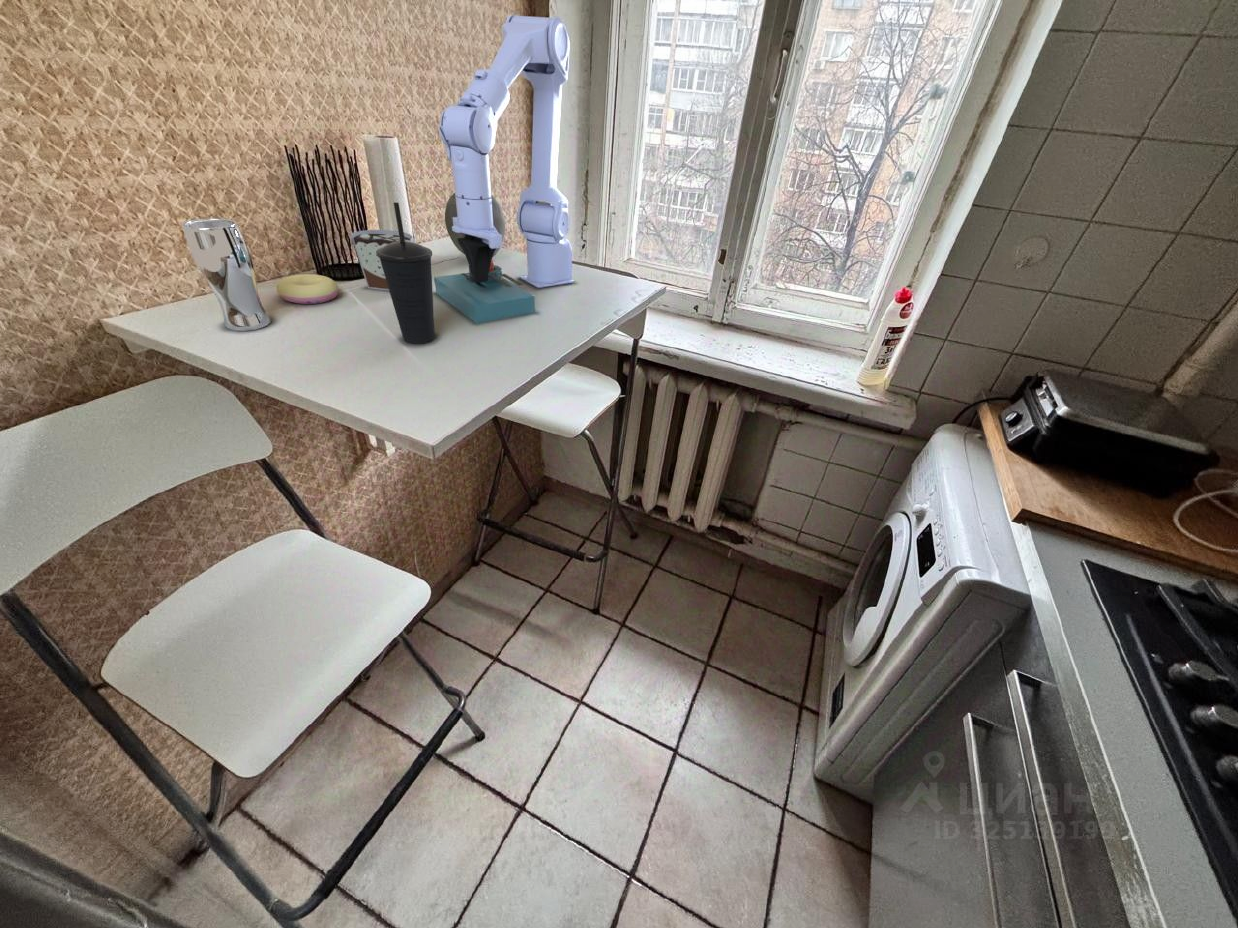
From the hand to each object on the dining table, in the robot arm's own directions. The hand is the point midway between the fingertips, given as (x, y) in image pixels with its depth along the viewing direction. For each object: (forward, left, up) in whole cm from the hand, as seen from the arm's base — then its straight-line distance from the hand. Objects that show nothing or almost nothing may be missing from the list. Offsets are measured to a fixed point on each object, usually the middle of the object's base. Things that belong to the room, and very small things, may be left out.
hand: (481, 281), depth 88 cm
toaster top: (-3, -3, -1) cm, 4 cm away
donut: (+25, -21, -6) cm, 33 cm away
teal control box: (-2, -5, -6) cm, 8 cm away
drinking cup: (+15, +6, -6) cm, 17 cm away
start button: (-6, -9, -1) cm, 11 cm away
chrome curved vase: (+36, -12, -6) cm, 38 cm away
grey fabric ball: (-15, -34, -6) cm, 38 cm away
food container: (+9, -21, -6) cm, 23 cm away
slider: (0, -2, -1) cm, 2 cm away
